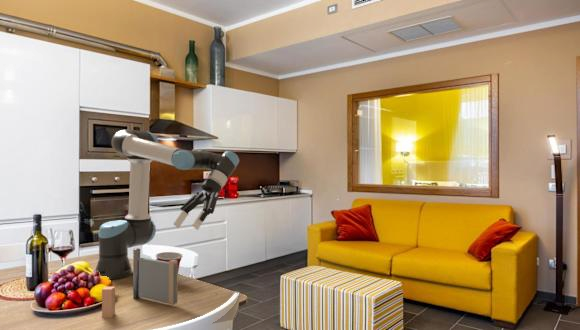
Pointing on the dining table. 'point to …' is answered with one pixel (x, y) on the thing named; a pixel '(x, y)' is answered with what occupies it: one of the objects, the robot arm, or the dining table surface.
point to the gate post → (136, 273)
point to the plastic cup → (170, 257)
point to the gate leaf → (158, 280)
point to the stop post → (108, 301)
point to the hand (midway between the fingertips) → (185, 226)
